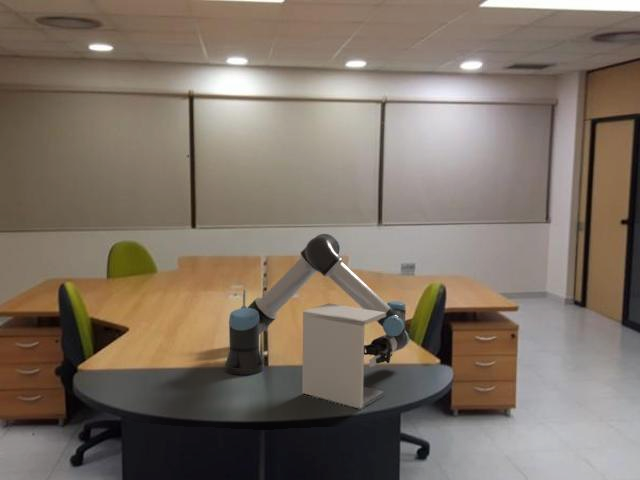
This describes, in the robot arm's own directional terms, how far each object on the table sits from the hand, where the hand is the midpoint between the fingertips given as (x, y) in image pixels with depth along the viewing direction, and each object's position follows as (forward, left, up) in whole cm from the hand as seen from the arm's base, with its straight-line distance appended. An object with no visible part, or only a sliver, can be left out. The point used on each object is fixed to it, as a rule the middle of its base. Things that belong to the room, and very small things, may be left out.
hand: (353, 359), depth 220 cm
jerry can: (-19, +66, -12) cm, 70 cm away
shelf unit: (-6, -3, -11) cm, 13 cm away
